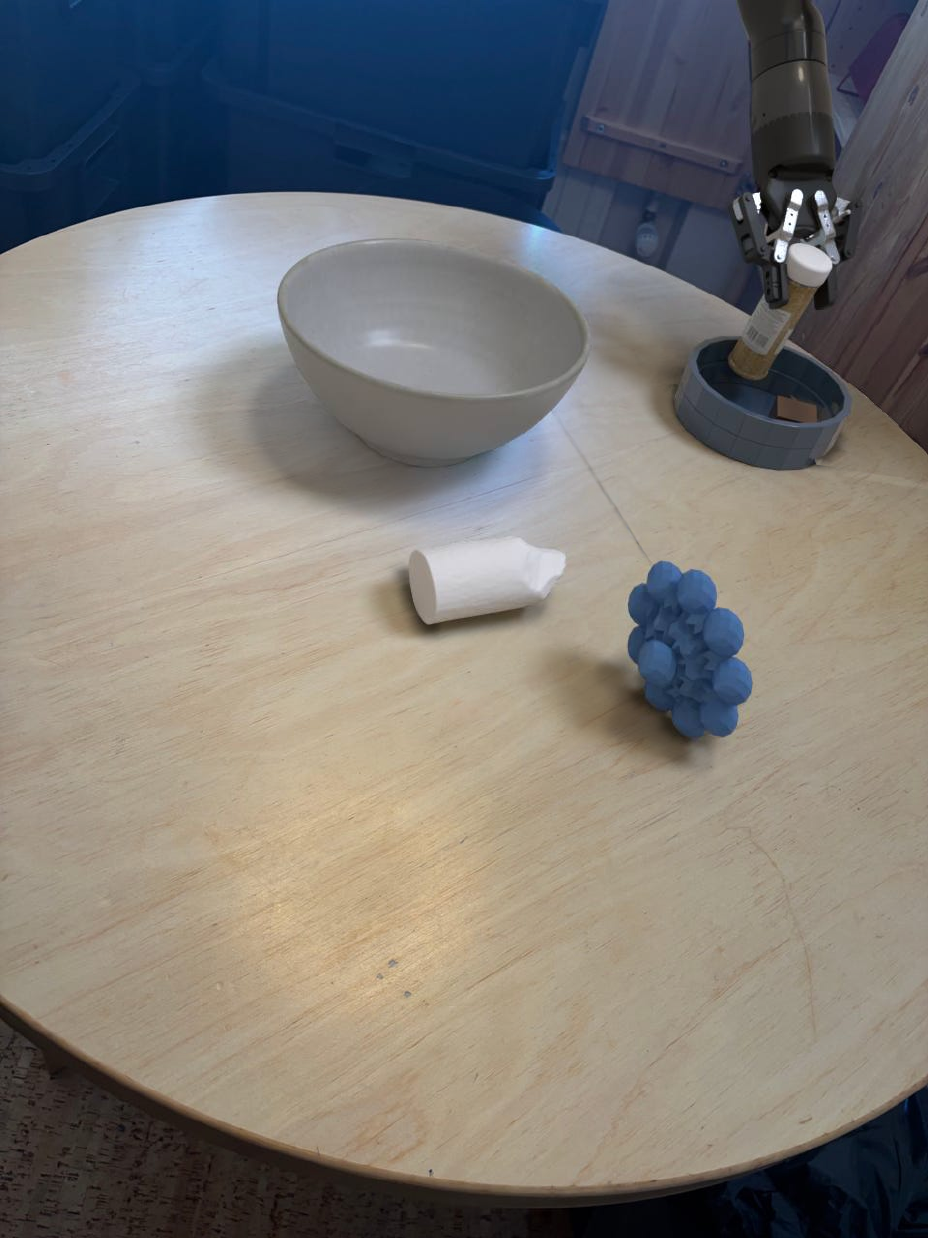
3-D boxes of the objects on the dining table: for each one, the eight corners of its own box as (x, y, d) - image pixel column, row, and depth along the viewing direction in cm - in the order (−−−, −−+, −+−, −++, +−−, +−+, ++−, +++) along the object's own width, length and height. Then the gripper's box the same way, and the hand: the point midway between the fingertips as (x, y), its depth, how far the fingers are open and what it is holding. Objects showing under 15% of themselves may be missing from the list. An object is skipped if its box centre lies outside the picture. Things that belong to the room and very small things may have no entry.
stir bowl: (808, 394, 106) (829, 350, 102) (845, 485, 94) (871, 438, 90) (664, 370, 104) (680, 324, 100) (682, 459, 92) (701, 411, 89)
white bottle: (572, 616, 74) (591, 563, 70) (429, 640, 70) (440, 585, 66) (542, 565, 78) (557, 512, 74) (404, 584, 74) (412, 529, 70)
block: (800, 438, 98) (816, 405, 95) (800, 459, 95) (817, 426, 92) (762, 428, 98) (777, 394, 95) (761, 448, 95) (777, 415, 92)
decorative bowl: (235, 368, 91) (233, 245, 83) (478, 339, 102) (499, 229, 94) (340, 546, 76) (352, 418, 67) (613, 490, 87) (652, 374, 78)
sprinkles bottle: (773, 379, 100) (843, 268, 90) (740, 384, 98) (808, 271, 88) (749, 351, 102) (815, 239, 92) (717, 355, 100) (780, 241, 90)
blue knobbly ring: (565, 669, 70) (608, 548, 62) (633, 642, 73) (683, 523, 65) (667, 788, 64) (730, 671, 56) (737, 752, 67) (806, 636, 59)
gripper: (749, 102, 85) (761, 294, 86) (880, 113, 90) (891, 296, 90) (704, 141, 93) (716, 318, 93) (828, 150, 97) (838, 319, 97)
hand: (802, 306), depth 92 cm, fingers closed on sprinkles bottle, 4 cm apart
